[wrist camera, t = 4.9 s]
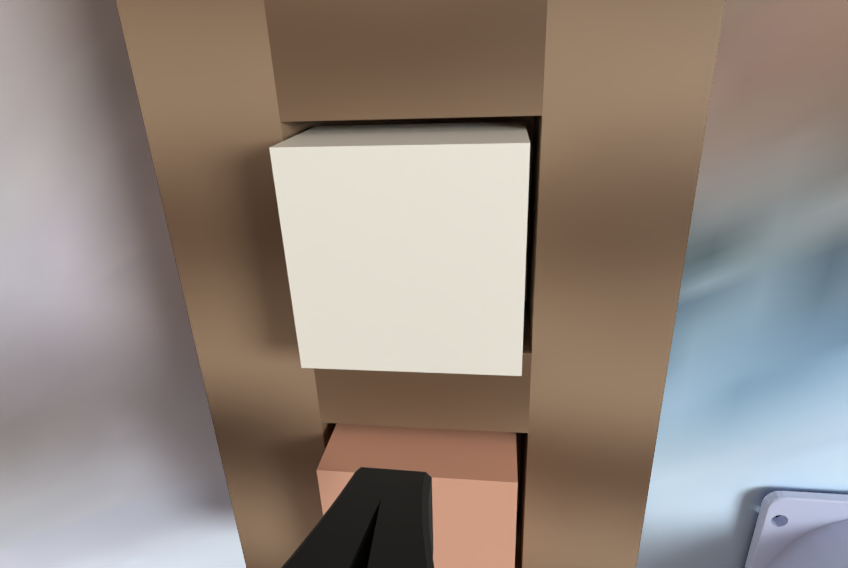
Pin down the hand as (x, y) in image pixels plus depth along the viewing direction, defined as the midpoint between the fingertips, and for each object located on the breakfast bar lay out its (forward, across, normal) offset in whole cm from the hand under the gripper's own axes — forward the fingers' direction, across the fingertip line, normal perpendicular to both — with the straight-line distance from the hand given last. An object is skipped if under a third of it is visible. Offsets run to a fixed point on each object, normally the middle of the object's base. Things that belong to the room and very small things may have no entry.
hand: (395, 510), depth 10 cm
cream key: (+6, 0, -4) cm, 7 cm away
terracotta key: (+6, 0, +4) cm, 7 cm away
